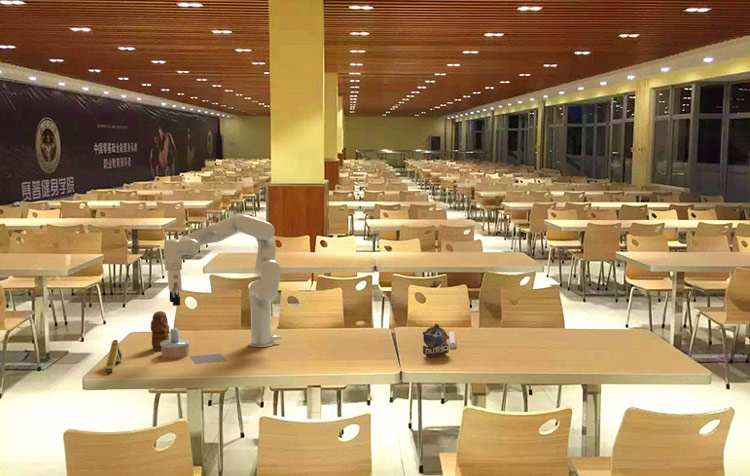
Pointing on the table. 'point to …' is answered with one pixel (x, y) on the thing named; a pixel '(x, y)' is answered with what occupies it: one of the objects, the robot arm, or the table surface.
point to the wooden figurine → (159, 329)
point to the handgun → (113, 356)
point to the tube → (452, 340)
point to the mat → (208, 358)
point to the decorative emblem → (435, 342)
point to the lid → (174, 340)
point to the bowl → (175, 352)
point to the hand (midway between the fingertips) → (174, 303)
